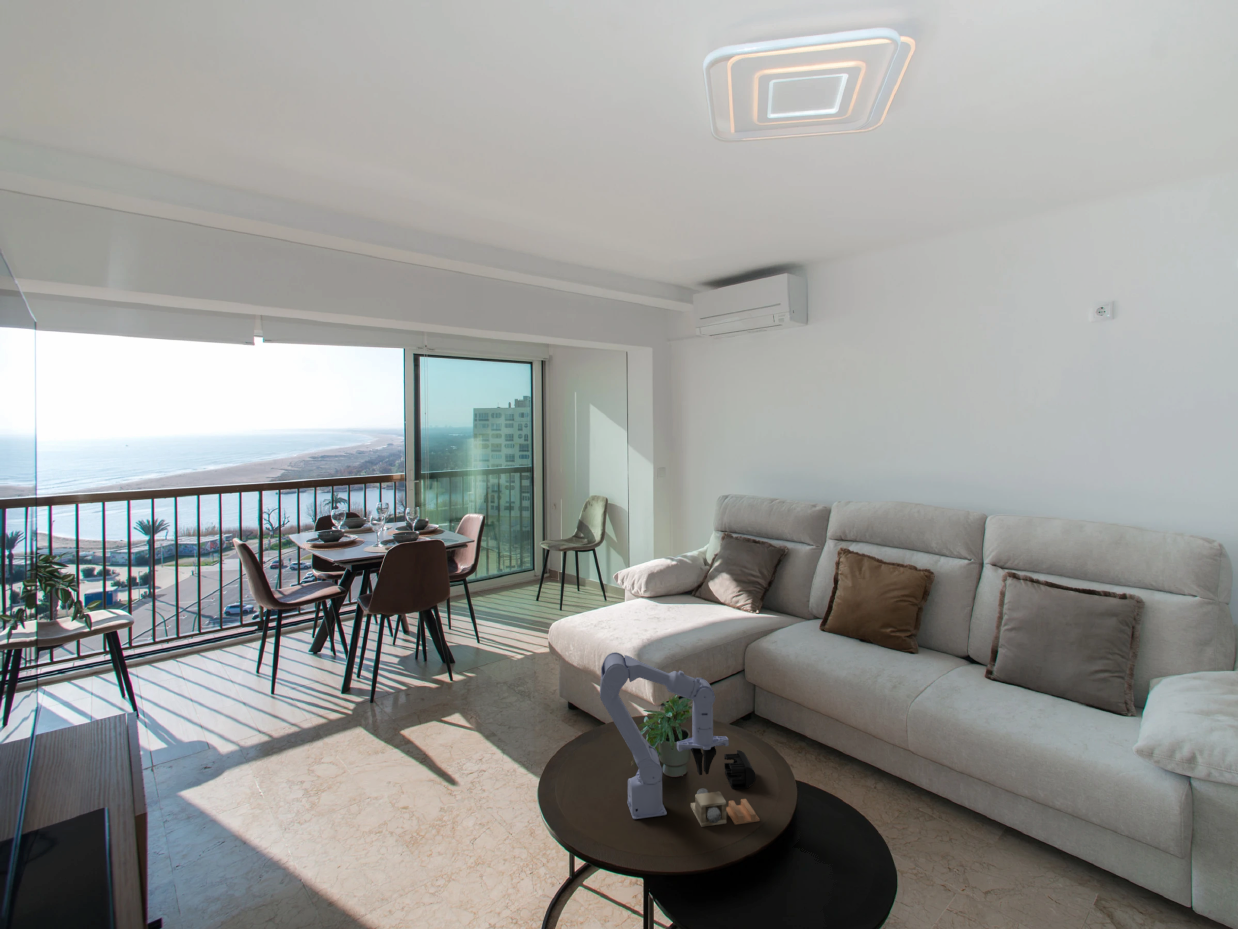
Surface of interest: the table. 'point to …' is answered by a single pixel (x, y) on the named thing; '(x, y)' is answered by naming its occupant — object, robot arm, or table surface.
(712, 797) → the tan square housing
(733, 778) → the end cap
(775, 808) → the table surface
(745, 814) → the cradle
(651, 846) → the table surface
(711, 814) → the axle
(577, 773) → the table surface
